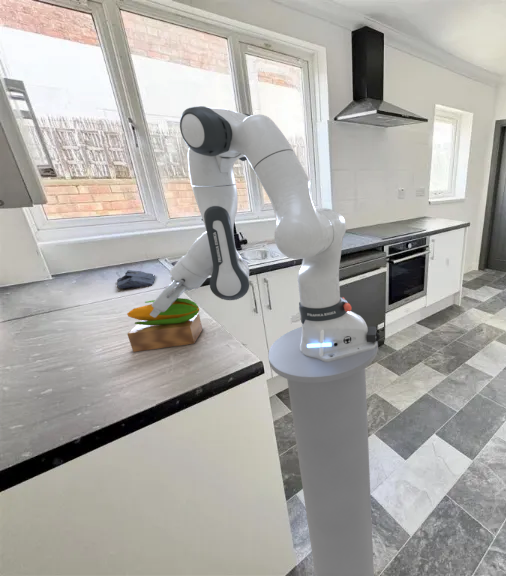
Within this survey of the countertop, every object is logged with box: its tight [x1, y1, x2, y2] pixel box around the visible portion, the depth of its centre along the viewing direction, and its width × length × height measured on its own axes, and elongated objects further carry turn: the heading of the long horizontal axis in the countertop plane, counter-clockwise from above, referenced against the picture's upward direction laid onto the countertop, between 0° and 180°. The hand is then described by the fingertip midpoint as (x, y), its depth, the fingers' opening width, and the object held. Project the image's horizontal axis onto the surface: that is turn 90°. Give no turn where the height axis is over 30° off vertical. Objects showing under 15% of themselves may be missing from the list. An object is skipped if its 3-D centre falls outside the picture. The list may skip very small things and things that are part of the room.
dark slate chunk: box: [116, 269, 156, 289], centre depth 151 cm, size 15×22×5 cm
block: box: [126, 312, 203, 353], centre depth 95 cm, size 16×10×6 cm, turn 106°
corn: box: [126, 297, 200, 325], centre depth 93 cm, size 7×8×20 cm
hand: (159, 309), depth 93 cm, fingers open, 8 cm apart
